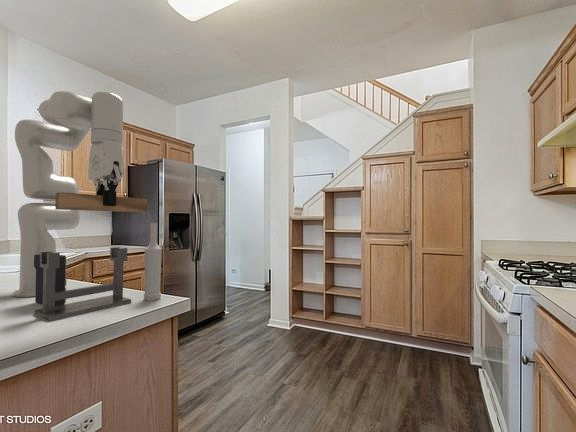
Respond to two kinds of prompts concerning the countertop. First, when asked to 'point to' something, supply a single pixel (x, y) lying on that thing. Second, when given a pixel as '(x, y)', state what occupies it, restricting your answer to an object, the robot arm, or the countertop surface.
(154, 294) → the bottle
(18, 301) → the countertop surface
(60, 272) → the black notched bar
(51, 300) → the hook stand
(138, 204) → the rail
